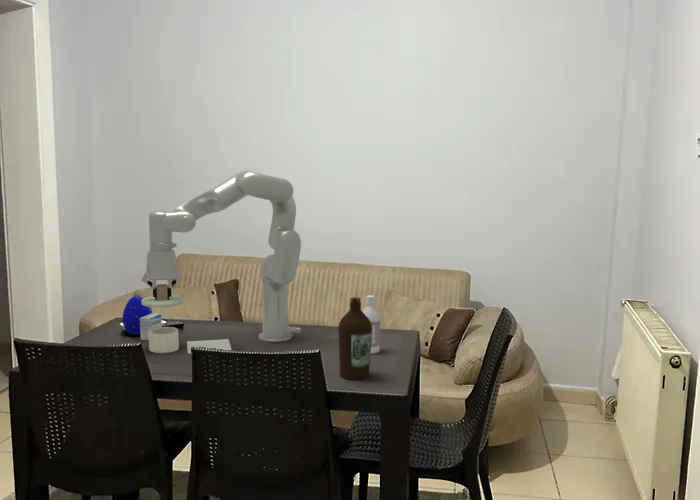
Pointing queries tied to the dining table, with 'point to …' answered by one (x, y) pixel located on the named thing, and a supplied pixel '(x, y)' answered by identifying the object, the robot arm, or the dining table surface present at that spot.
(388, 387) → the dining table surface
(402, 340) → the dining table surface
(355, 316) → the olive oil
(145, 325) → the medicine box
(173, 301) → the lid
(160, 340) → the bowl
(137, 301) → the ornament
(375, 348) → the bath foam
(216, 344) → the mat
